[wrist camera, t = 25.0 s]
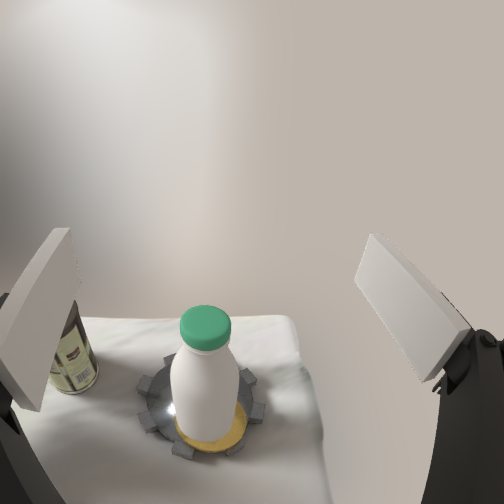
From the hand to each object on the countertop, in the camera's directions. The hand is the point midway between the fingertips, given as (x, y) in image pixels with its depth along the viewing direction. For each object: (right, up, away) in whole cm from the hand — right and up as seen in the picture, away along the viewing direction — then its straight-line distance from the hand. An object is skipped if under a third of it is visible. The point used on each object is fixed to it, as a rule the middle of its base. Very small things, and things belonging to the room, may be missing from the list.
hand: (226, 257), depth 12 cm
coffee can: (-30, -21, +29) cm, 47 cm away
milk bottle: (-5, -23, +24) cm, 33 cm away
